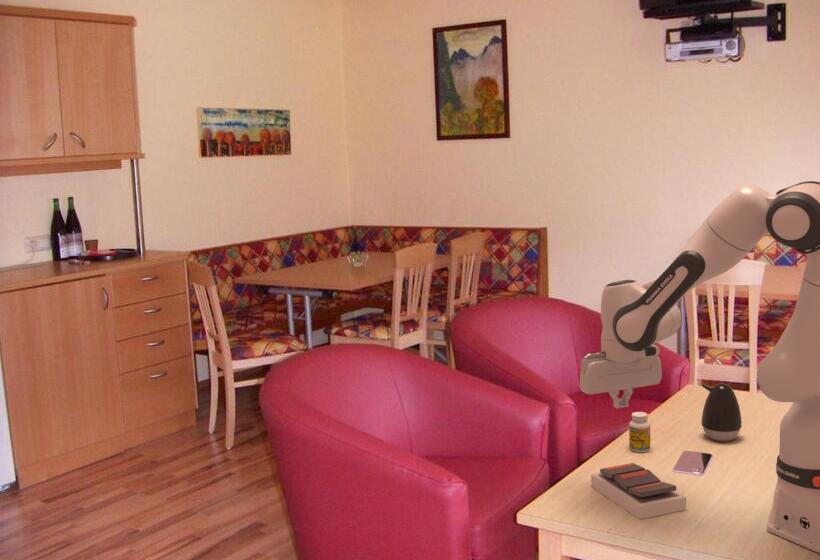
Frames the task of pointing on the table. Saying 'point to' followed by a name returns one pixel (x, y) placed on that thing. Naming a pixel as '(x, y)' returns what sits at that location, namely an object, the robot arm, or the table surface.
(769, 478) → the table surface
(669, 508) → the rocker switch panel
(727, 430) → the pump dispenser
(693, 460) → the mobile phone
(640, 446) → the supplement bottle
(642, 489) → the rocker
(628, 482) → the rocker
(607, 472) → the block
